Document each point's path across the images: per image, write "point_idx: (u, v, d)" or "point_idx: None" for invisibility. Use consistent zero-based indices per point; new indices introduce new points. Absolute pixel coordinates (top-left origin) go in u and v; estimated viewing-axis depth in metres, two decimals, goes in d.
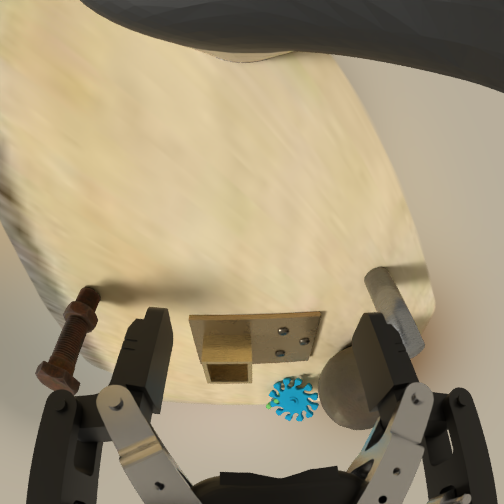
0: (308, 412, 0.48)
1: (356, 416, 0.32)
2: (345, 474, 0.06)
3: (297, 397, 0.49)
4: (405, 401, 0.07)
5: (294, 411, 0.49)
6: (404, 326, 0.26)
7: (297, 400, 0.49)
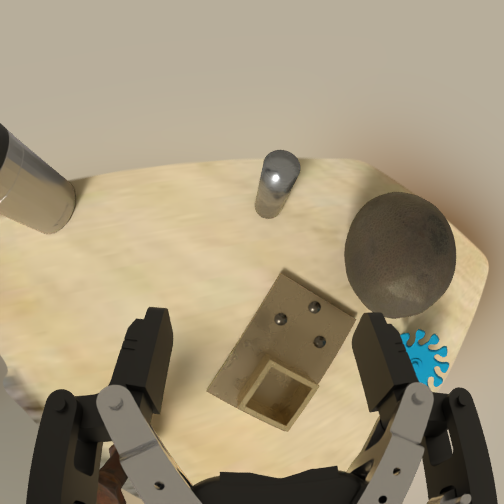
0: (439, 351, 0.30)
1: (395, 260, 0.24)
2: (345, 474, 0.06)
3: (412, 357, 0.32)
4: (405, 401, 0.07)
5: (430, 369, 0.30)
6: (261, 172, 0.29)
7: (416, 358, 0.32)
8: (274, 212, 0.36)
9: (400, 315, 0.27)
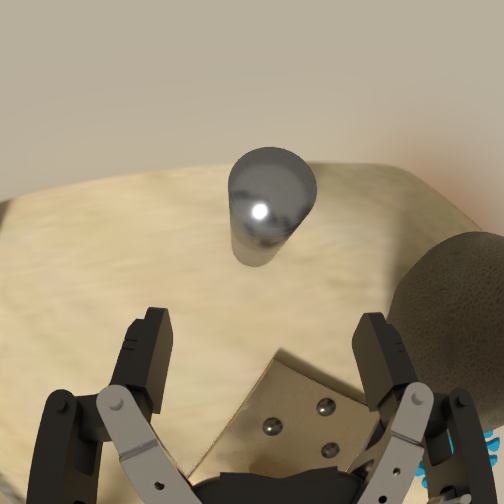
0: (490, 445, 0.14)
1: (489, 386, 0.08)
2: (345, 474, 0.06)
3: None
4: (405, 401, 0.07)
5: None
6: None
7: None
8: (263, 261, 0.20)
9: None
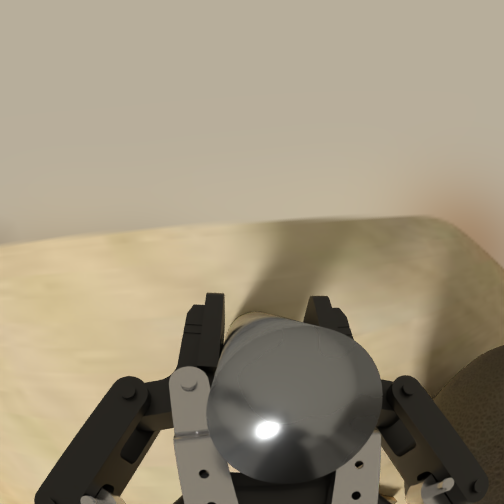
0: None
1: None
2: None
3: None
4: None
5: None
6: None
7: None
8: None
9: None
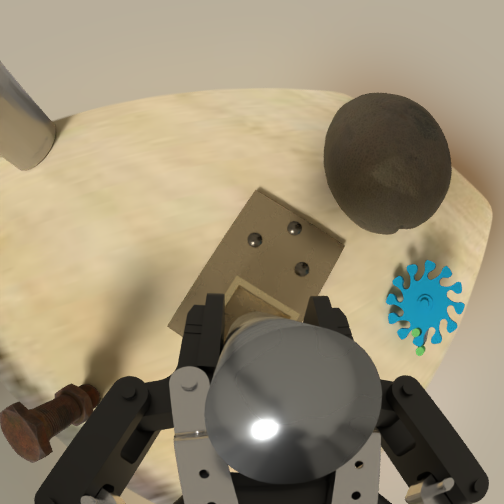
0: (452, 286, 0.26)
1: (376, 140, 0.20)
2: None
3: (421, 293, 0.28)
4: None
5: (443, 310, 0.26)
6: None
7: (425, 295, 0.28)
8: None
9: (393, 220, 0.23)
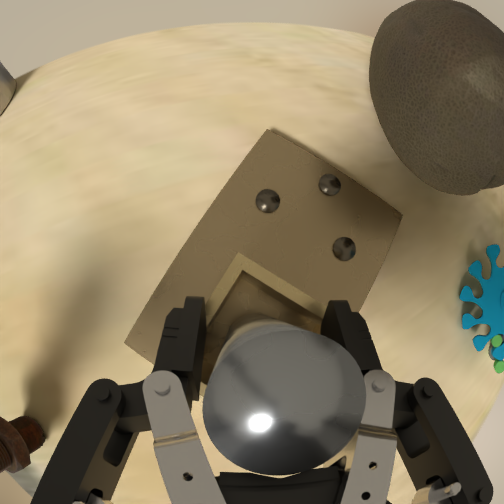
0: None
1: (462, 32, 0.08)
2: (320, 477, 0.06)
3: None
4: None
5: None
6: None
7: None
8: None
9: (492, 161, 0.11)
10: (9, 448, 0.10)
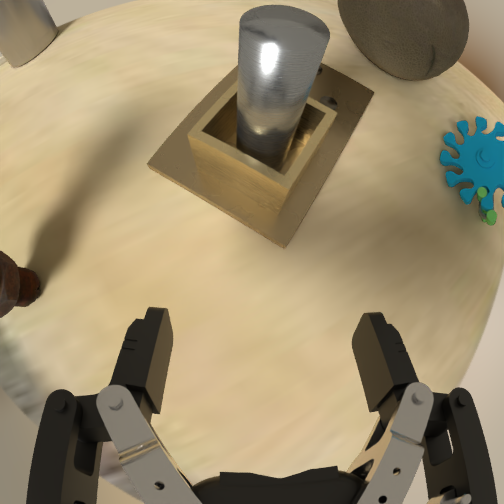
0: None
1: None
2: (345, 474, 0.06)
3: (478, 147, 0.19)
4: (405, 401, 0.07)
5: None
6: None
7: (484, 149, 0.18)
8: (271, 161, 0.17)
9: (424, 31, 0.14)
10: (1, 271, 0.13)
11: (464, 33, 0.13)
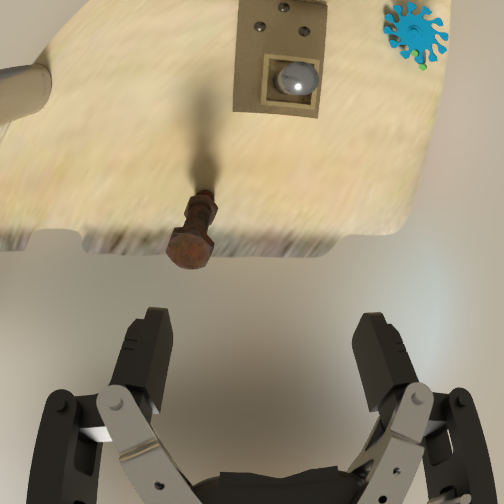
0: (434, 20, 0.22)
1: None
2: (345, 474, 0.06)
3: (410, 24, 0.25)
4: (405, 401, 0.07)
5: (431, 37, 0.24)
6: (280, 81, 0.26)
7: (414, 26, 0.24)
8: None
9: None
10: (207, 203, 0.39)
11: None
